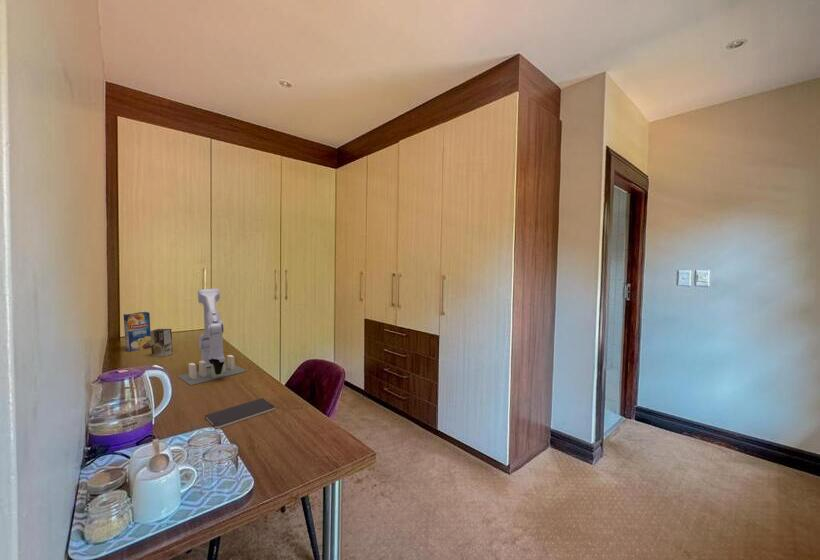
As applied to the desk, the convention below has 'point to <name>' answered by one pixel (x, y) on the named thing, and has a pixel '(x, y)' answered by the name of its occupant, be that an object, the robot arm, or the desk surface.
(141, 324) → the blue food box
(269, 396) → the desk surface
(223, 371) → the domino
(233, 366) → the domino
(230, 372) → the charcoal mat
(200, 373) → the domino
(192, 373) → the domino
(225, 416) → the notebook
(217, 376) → the sage domino
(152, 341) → the coffee box
